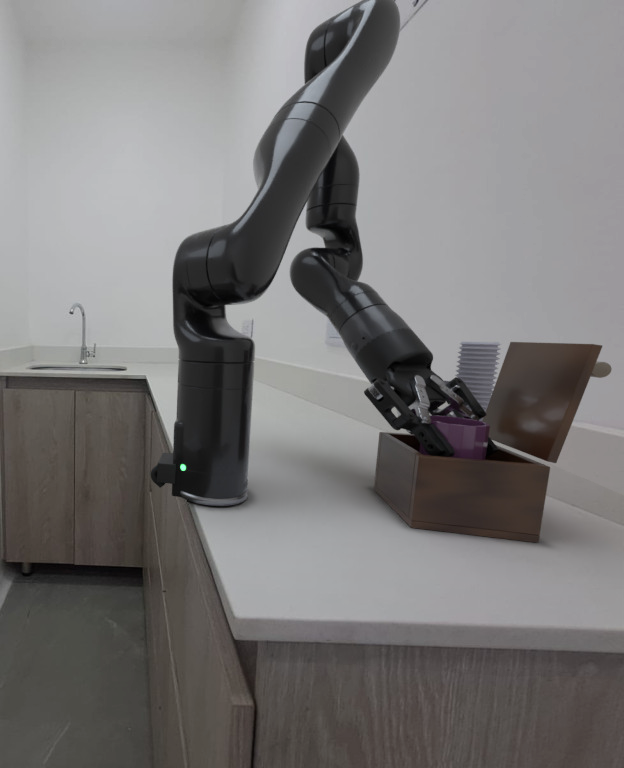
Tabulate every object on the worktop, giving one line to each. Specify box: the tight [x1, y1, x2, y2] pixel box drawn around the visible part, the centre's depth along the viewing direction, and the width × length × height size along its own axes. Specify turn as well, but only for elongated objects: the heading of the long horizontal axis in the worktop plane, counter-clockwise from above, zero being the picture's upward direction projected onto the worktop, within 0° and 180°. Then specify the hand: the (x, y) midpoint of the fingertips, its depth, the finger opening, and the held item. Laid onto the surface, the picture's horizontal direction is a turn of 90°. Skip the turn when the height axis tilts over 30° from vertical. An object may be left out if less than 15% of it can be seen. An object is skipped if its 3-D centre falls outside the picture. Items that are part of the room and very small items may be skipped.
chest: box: [373, 431, 551, 543], centre depth 47 cm, size 11×11×8 cm
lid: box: [482, 341, 612, 464], centre depth 43 cm, size 12×11×4 cm
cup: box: [419, 414, 490, 460], centre depth 47 cm, size 6×6×9 cm
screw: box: [451, 341, 502, 421], centre depth 55 cm, size 8×8×20 cm
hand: (467, 456), depth 45 cm, fingers closed on cup, 6 cm apart
